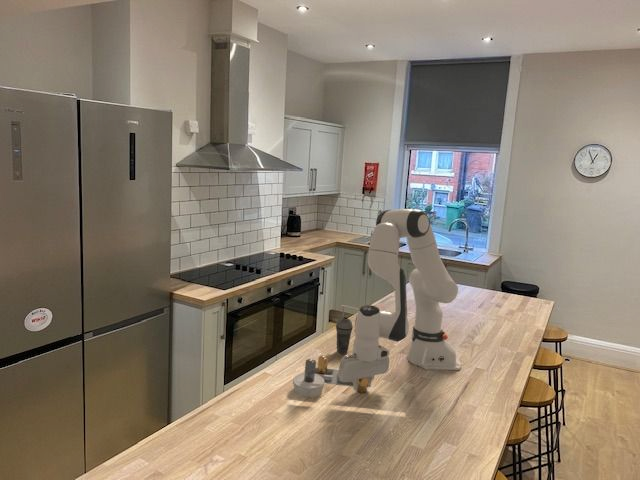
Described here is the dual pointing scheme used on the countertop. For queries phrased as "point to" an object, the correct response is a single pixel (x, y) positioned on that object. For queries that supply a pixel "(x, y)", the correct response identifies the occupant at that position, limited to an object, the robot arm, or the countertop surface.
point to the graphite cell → (309, 370)
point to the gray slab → (333, 377)
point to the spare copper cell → (322, 365)
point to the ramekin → (308, 386)
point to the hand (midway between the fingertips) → (361, 387)
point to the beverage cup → (343, 334)
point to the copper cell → (362, 385)
